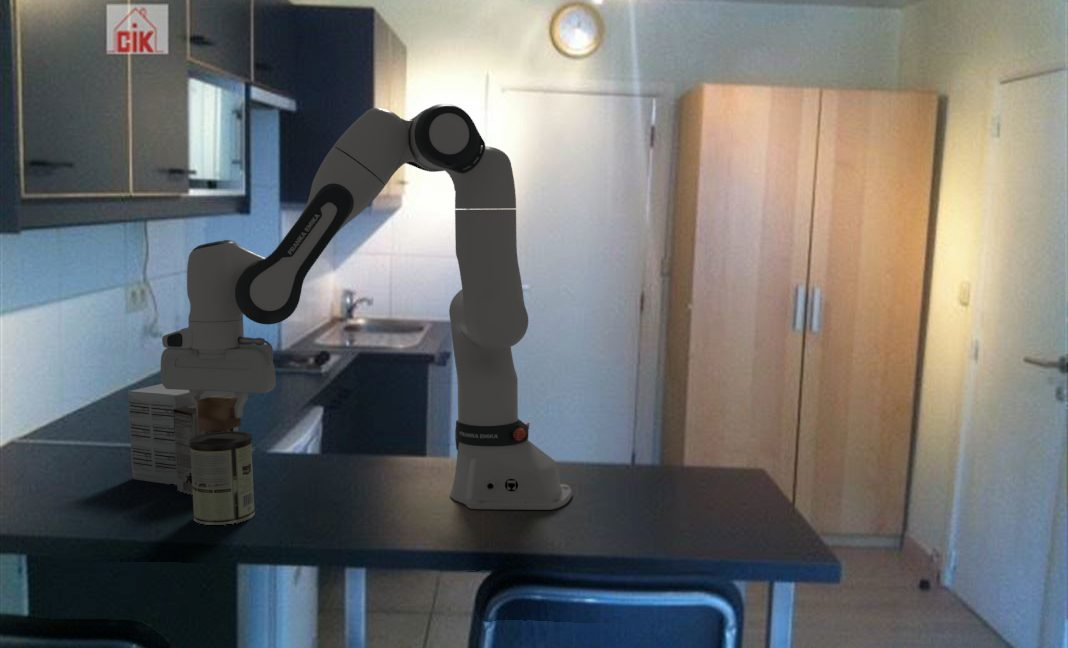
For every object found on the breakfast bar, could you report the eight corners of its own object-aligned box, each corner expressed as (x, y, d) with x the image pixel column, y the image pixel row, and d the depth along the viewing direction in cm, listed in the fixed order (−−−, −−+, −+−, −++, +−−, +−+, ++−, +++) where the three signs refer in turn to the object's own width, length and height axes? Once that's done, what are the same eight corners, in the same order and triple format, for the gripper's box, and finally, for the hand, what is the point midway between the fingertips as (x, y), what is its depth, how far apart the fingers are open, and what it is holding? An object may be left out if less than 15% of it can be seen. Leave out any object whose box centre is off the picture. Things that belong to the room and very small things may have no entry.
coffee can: (198, 510, 172) (194, 432, 170) (258, 506, 173) (255, 429, 172) (187, 528, 162) (183, 445, 160) (251, 524, 163) (248, 442, 162)
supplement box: (193, 459, 208) (189, 376, 206) (241, 465, 202) (238, 380, 200) (129, 479, 192) (124, 389, 190) (179, 486, 187) (175, 394, 185)
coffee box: (216, 481, 191) (212, 400, 189) (237, 486, 187) (233, 404, 185) (175, 491, 183) (171, 408, 181) (196, 497, 180) (192, 411, 178)
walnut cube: (240, 425, 167) (239, 395, 167) (224, 431, 163) (223, 401, 162) (215, 423, 169) (214, 394, 168) (198, 429, 164) (197, 399, 163)
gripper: (281, 335, 165) (283, 415, 166) (175, 332, 169) (179, 410, 171) (262, 340, 158) (265, 423, 160) (153, 337, 163) (157, 417, 165)
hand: (219, 416), depth 166 cm, fingers closed on walnut cube, 5 cm apart
